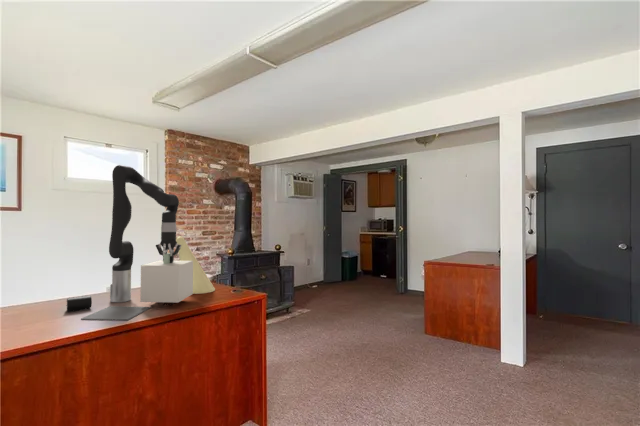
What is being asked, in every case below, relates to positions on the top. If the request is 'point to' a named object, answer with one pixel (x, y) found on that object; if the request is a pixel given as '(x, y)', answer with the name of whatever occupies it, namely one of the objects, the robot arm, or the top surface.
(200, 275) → the cone light
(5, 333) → the top surface
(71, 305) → the end cap
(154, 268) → the cover
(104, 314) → the mat
